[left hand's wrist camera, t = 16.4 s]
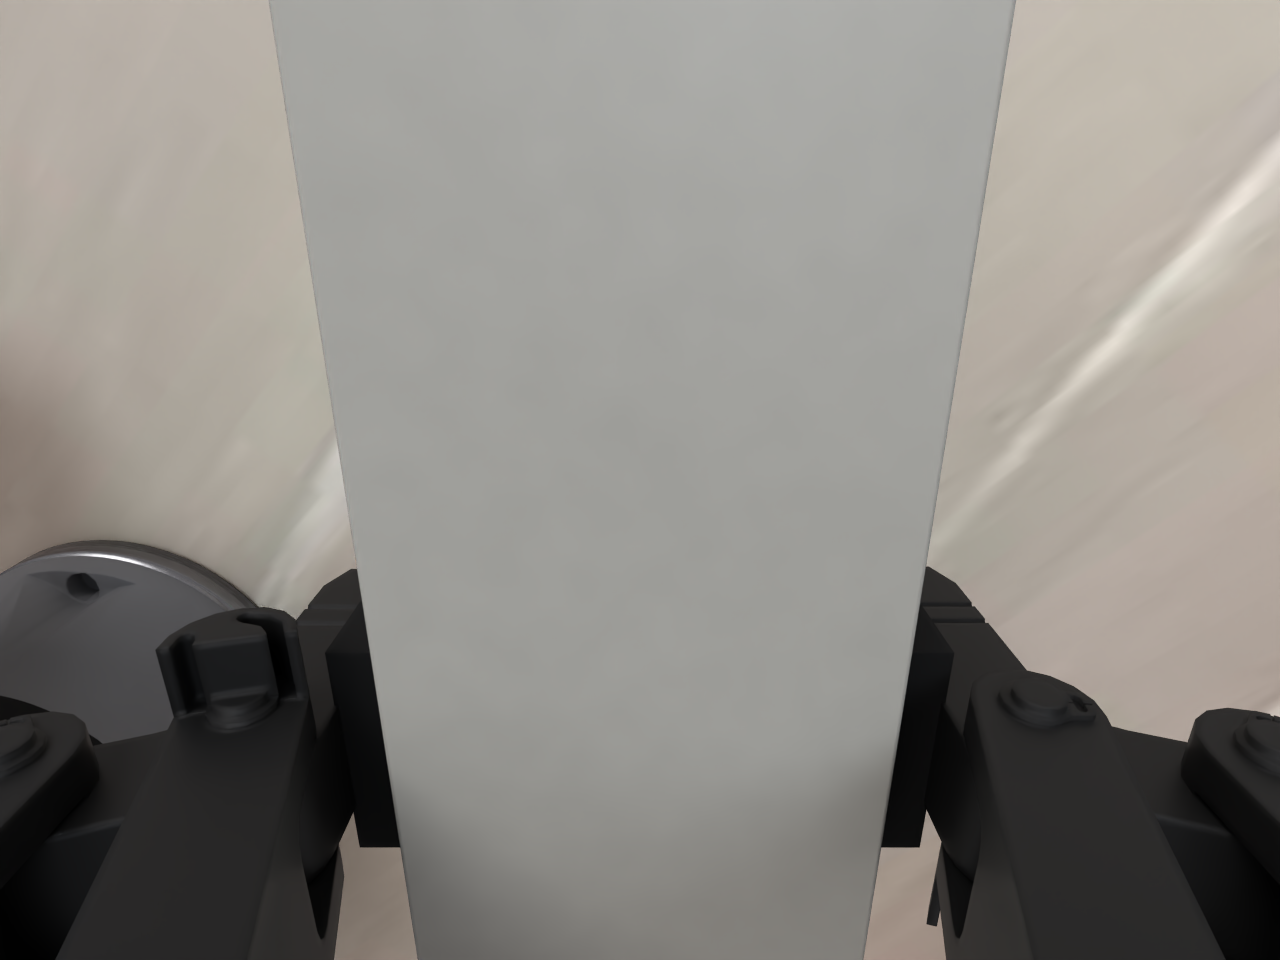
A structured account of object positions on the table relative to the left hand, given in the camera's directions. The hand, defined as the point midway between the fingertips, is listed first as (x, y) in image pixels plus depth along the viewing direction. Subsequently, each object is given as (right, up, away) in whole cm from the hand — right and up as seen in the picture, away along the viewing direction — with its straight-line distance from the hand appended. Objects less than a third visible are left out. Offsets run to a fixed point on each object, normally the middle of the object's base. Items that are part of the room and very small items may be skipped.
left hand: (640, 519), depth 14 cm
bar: (0, +9, -3) cm, 10 cm away
